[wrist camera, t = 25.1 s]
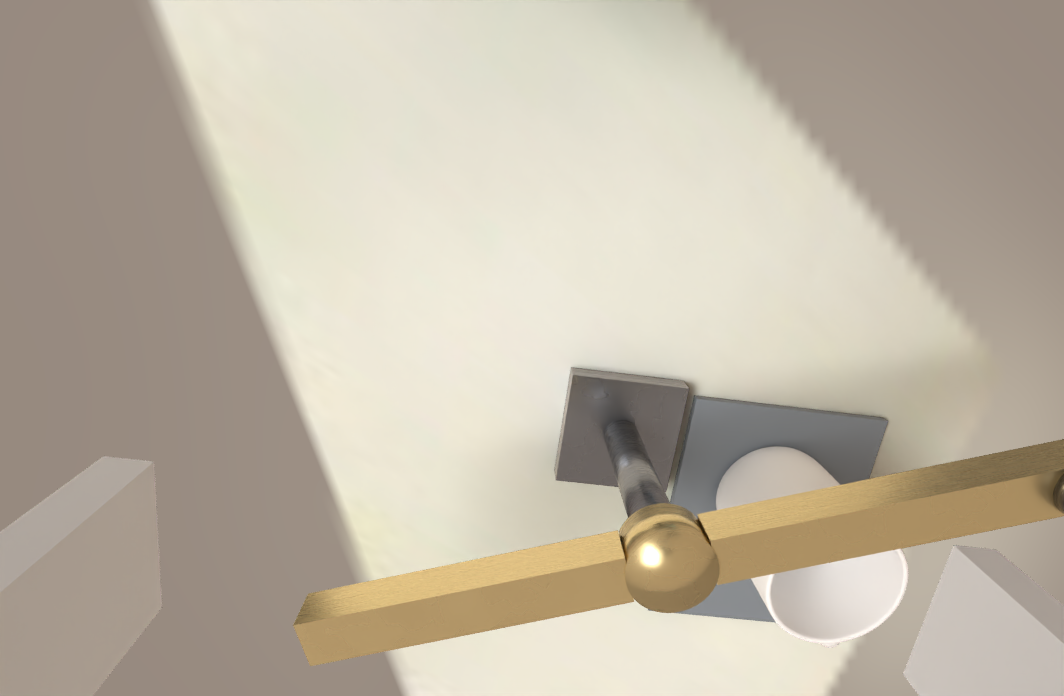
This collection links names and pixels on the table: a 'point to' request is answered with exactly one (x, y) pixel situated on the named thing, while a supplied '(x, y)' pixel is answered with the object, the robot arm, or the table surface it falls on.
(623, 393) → the lever post
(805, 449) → the felt mat
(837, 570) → the mug
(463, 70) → the table surface
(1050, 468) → the lever
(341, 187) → the table surface
